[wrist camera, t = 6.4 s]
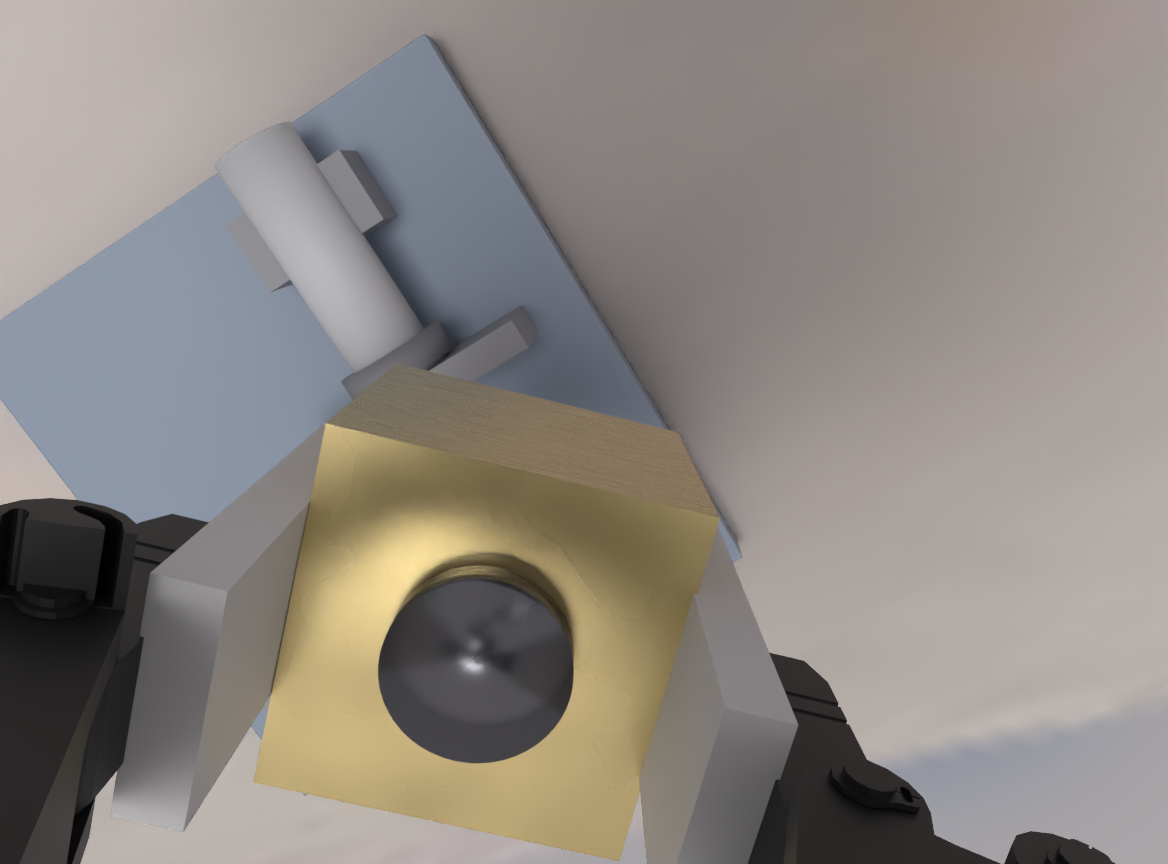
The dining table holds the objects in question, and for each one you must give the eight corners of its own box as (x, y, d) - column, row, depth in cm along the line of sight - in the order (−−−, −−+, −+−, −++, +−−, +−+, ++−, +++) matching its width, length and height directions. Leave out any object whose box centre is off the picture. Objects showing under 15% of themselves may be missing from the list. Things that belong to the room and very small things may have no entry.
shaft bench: (-15, 340, 30) (-122, 369, 25) (432, 39, 27) (398, 14, 23) (315, 774, 33) (270, 865, 29) (737, 542, 30) (758, 604, 26)
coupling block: (339, 628, 18) (238, 808, 13) (395, 363, 17) (313, 433, 12) (606, 688, 18) (621, 890, 13) (678, 432, 17) (727, 533, 12)
